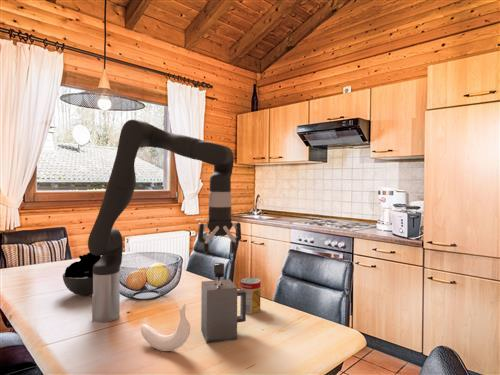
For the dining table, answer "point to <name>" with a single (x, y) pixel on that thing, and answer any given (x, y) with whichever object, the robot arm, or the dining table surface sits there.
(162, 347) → the banana
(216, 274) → the plunger
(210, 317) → the press jar
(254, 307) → the canned food
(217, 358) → the dining table surface
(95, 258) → the bowl of black rocks
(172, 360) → the dining table surface
